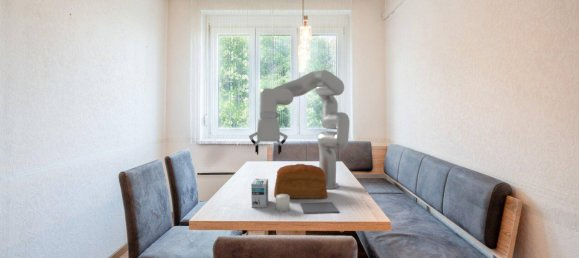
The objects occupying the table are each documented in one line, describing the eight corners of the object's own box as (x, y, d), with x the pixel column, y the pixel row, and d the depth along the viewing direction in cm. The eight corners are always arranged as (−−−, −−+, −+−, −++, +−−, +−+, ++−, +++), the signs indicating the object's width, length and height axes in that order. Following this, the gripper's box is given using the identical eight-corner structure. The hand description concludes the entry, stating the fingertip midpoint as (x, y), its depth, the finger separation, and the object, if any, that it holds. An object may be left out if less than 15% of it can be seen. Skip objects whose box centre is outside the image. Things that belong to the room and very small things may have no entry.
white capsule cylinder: (275, 207, 122) (275, 194, 122) (289, 206, 123) (289, 193, 122) (276, 212, 116) (276, 198, 116) (290, 211, 117) (290, 198, 116)
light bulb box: (266, 208, 121) (266, 184, 120) (251, 208, 121) (250, 184, 120) (268, 200, 132) (268, 178, 131) (254, 200, 132) (254, 178, 131)
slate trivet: (300, 204, 126) (300, 202, 126) (332, 203, 127) (332, 201, 127) (303, 213, 114) (303, 212, 114) (338, 212, 115) (338, 211, 115)
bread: (328, 200, 132) (328, 168, 131) (273, 200, 132) (273, 168, 131) (324, 190, 148) (324, 161, 147) (275, 190, 148) (275, 161, 147)
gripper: (286, 116, 127) (286, 152, 128) (249, 116, 125) (249, 153, 126) (288, 116, 119) (288, 155, 120) (248, 116, 118) (248, 155, 118)
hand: (268, 154), depth 123 cm, fingers open, 9 cm apart
